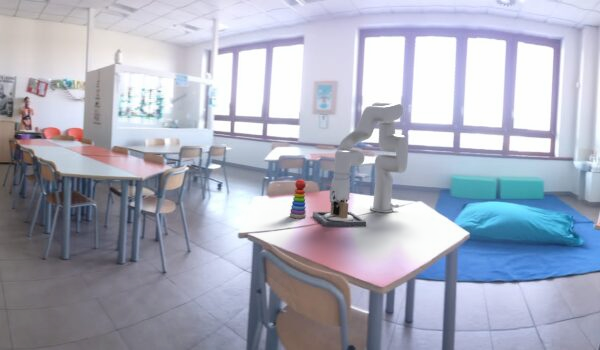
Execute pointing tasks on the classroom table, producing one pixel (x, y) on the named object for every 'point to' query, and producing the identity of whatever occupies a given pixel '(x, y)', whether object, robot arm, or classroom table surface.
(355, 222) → the dial housing
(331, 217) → the dial
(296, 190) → the stacking toy
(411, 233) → the classroom table surface
